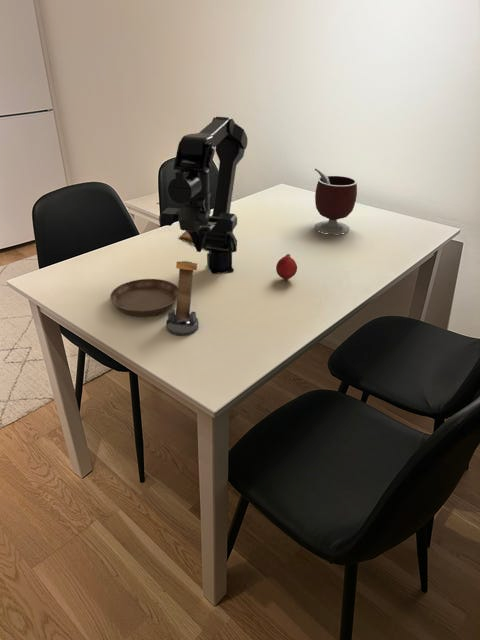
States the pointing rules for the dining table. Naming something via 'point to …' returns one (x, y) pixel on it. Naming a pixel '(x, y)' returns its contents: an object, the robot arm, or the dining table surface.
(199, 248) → the robot arm
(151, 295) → the plant saucer
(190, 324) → the tribrach base
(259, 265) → the dining table surface
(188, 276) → the brown capped cylinder
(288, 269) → the onion
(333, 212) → the mate gourd
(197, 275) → the dining table surface
